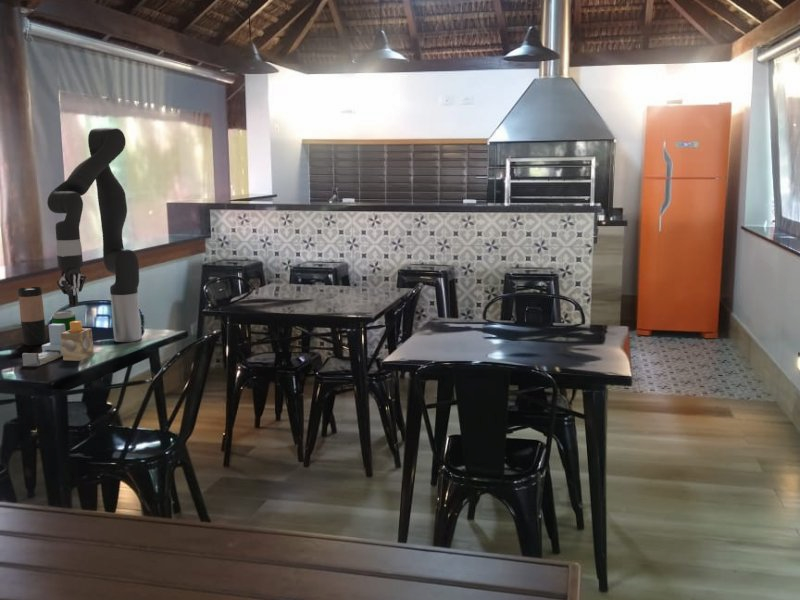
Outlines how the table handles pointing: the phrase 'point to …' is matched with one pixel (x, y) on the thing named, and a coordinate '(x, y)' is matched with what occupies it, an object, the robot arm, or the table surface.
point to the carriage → (55, 338)
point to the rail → (40, 357)
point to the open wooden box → (77, 344)
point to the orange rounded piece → (76, 326)
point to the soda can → (63, 318)
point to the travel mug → (32, 316)
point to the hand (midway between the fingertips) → (73, 306)
